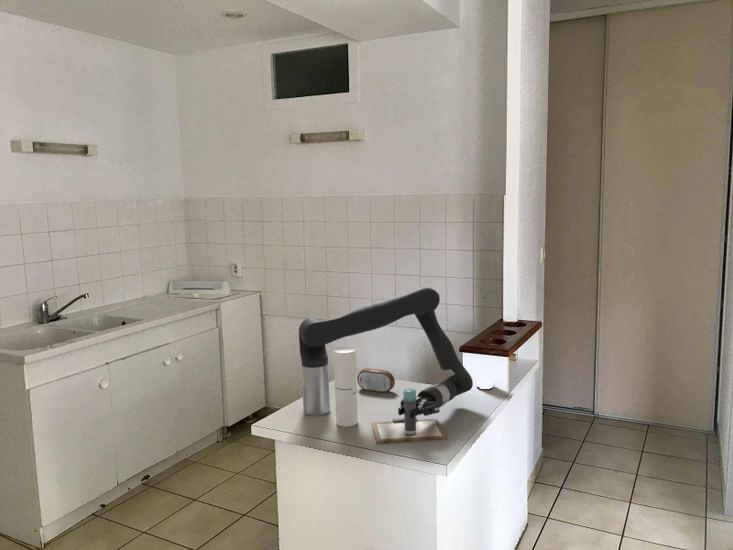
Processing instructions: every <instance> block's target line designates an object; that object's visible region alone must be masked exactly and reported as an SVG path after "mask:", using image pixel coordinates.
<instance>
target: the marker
mask: <svg viewBox="0 0 733 550" xmlns="http://www.w3.org/2000/svg"><path fill="white" fill-rule="evenodd" d="M416 397H417V391H416V389H414V388H405V389H404V390H403V398H404V414H403V415H404V417H403V418H404V424H405V429H404V432H405V435H407V436H414V435H416V417H417V416H416V417H413V418H410V411H411V410H413V409H415V408H416Z"/></svg>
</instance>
